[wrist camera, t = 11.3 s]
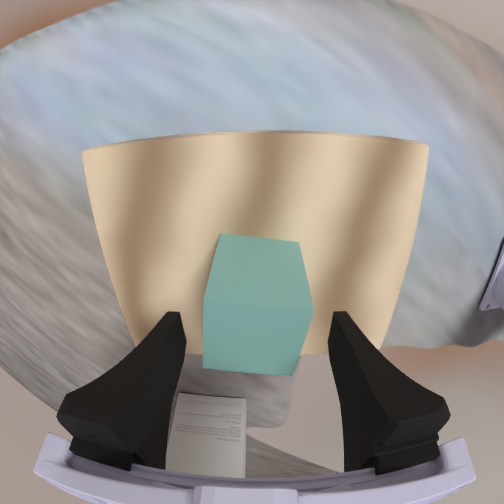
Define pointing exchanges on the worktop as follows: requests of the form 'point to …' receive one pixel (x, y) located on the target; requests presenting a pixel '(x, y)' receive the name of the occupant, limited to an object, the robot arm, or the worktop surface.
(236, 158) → the birch board
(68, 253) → the worktop surface
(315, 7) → the worktop surface
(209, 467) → the supplement box
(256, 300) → the teal block
